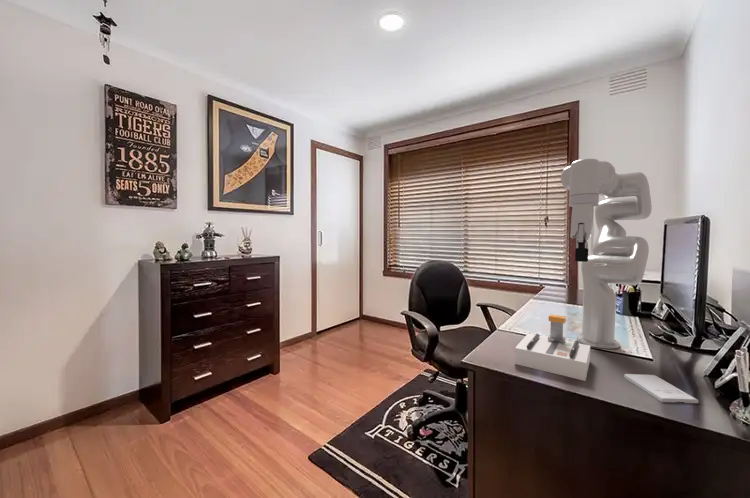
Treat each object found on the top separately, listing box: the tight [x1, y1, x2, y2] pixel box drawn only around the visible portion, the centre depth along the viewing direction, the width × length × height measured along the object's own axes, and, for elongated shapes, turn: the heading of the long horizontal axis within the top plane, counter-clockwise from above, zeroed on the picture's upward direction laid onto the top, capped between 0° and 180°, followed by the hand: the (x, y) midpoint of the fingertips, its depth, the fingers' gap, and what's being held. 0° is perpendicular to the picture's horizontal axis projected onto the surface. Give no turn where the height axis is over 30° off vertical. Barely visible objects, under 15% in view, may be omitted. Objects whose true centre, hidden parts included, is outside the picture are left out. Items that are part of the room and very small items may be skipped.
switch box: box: [514, 333, 591, 382], centre depth 97 cm, size 16×18×6 cm
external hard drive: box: [623, 373, 699, 404], centre depth 80 cm, size 2×8×12 cm
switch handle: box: [547, 314, 567, 343], centre depth 101 cm, size 4×4×8 cm
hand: (581, 261), depth 97 cm, fingers closed
